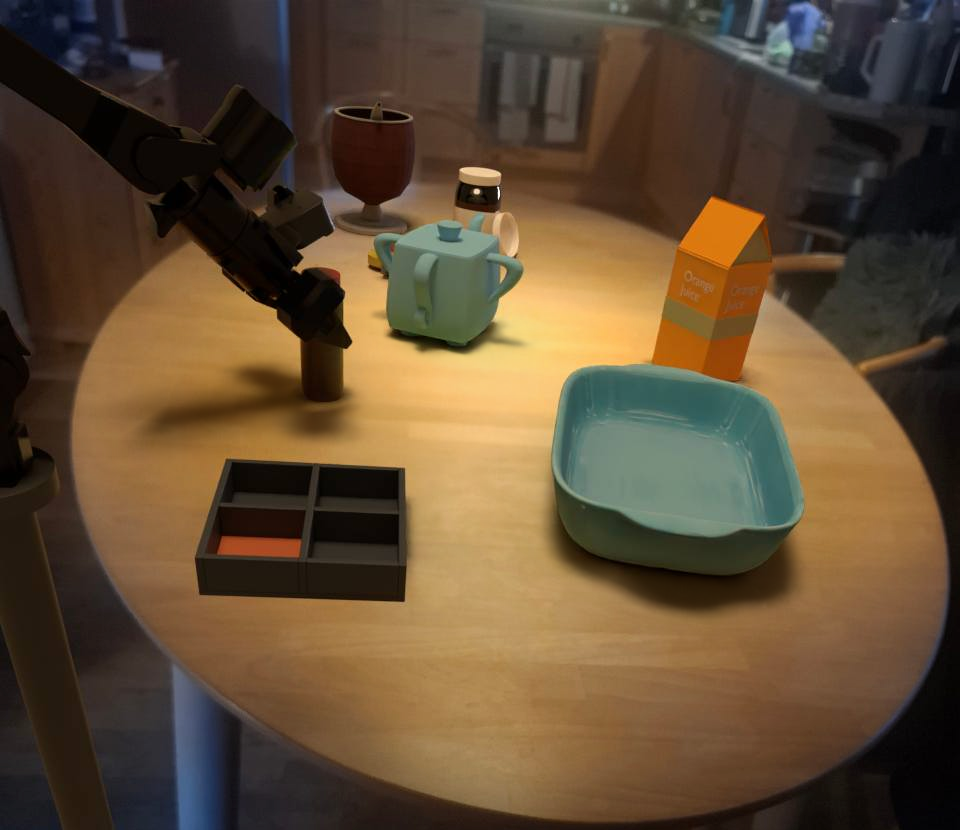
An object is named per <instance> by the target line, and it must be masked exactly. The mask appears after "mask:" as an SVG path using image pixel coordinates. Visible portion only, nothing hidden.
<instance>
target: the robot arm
mask: <svg viewBox="0 0 960 830" xmlns="http://www.w3.org/2000/svg"><path fill="white" fill-rule="evenodd" d="M0 83H1V84H2V85H3V86H5V87H6V88H8V89H9V90H11V91H13V92H14V93H15V94H17V95H19V96H20V97H21V98H23V99H24V100H26V101H28V102H30V103H31V104H32V105H34V106H36V107H37V108H39V109H40V110H42V111H43V112H45V113H46V114H48V115H49V116H51V118H54V119H55V120H57V121H58V122H60V124H62V125H63V126H64V127H65V128H66V129H67V130H68V131H70V132H71V133H72V135H74V136H75V137H76V138H77V140H79V141H80V142H81V143H83V144H84V145H85V146H86V147H87V148H88V149H89V150H90V151H91V152H93V154H95V155H96V156H97V157H98V158H99V159H100V160H101V161H103V163H105V164H106V165H107V166H108V167H109V168H110V169H111V170H112V171H114V172H115V173H116V174H117V175H119V176H120V177H122V178H123V179H124V180H125V181H126V182H127V183H129V184H131V185H132V186H133V187H134V188H135V189H137V190H138V191H140V192H142V193H144V194H146V195H150V196H151V195H152V196H157V197H155V198H144V199H143V200H142V204H143V206H144V210H145V227H146V228H147V229H148V230H150V231H151V232H152V233H153V234H154V235H155V236H157V237H158V238H159V239H165V238H166V237H167V235H168V234H169V233H170V232H171V230H172V229H173V228H174V226H175V227H176V228H178V229H179V230H180V231H181V232H182V233H183V234H184V235H185V236H186V237H188V238H189V239H190V240H191V241H192V242H193V243H194V244H195V245H196V246H197V247H198V248H200V249H201V250H202V251H203V253H205V254H206V256H207V257H209V259H211V260H212V261H213V262H214V263H215V264H216V265H218V266H219V267H220V268H221V273H222V275H223V276H224V277H225V278H226V279H227V280H228V281H230V282H231V283H232V284H233V285H234V286H235V287H236V288H237V289H239V290H240V291H241V292H242V293H245V295H247V296H248V297H249V298H251V299H252V300H253V301H254V302H257V303H258V304H261V305H264V306H266V307H268V308H271V309H274V310H276V320H278V321H279V322H280V323H281V324H283V326H284V327H285V328H287V329H288V330H289V331H290V332H291V333H292V334H293V335H294V336H296V337H297V338H298V339H299V340H300V339H301V340H302V341H303V342H304V343H305V342H307V341H310V340H315V341H319V342H322V343H326V344H329V345H333V346H336V347H339V348H343V350H348V349H349V348H350V347H351V345H352V344H353V339H352V337H351V336H350V334H349V332H348V331H347V329H346V327H345V325H344V322H343V323H342V322H341V320H340V318H339V316H338V315H337V313H336V311H335V309H336V308H337V307H338V306H339V304H340V303H341V302H342V301H343V302H344V300H345V297H346V290H345V289H344V288H342V287H341V285H340V286H339V285H338V284H337V283H336V281H335V280H334V279H332V278H331V277H329V276H328V275H327V274H325V273H324V272H322V271H321V270H319V269H318V268H316V269H306V268H304V269H305V270H304V272H303V273H302V274H301V272H298V271H297V270H296V269H294V268H297V267H298V266H299V265H300V263H301V262H302V261H304V258H305V257H304V256H303V254H302V253H301V252H300V250H301V251H302V250H303V249H305V248H307V247H309V246H310V245H312V244H314V243H315V242H316V241H319V240H320V239H322V238H323V237H326V238H327V237H329V236H331V235H332V234H333V233H334V232H335V230H336V227H335V225H334V222H333V219H332V218H331V215H330V213H329V210H328V208H327V205H326V203H325V202H324V199H323V197H322V196H321V195H319V194H317V193H315V192H314V191H312V190H310V189H307V188H304V189H301V188H300V187H297V188H295V189H294V190H295V192H293V191H292V190H291V188H289V187H288V186H287V185H285V184H283V183H282V182H280V181H277V182H275V183H274V184H272V185H270V186H269V187H267V188H266V205H267V206H265V207H264V209H265V212H264V213H262V214H261V215H258V214H257V213H256V212H255V211H254V210H252V209H250V208H248V207H247V206H246V205H244V203H242V201H241V200H240V199H239V198H238V197H237V196H236V195H235V194H234V193H232V191H231V190H230V189H229V188H228V187H227V186H226V185H225V183H223V182H222V181H221V180H220V179H219V178H218V177H217V176H216V175H215V173H216V172H219V173H220V175H222V176H223V178H224V179H226V181H228V183H230V184H231V185H232V186H233V187H234V188H236V189H237V190H238V191H239V192H241V193H243V194H244V193H245V192H246V191H247V190H248V189H250V190H251V191H252V192H253V193H256V192H258V193H260V192H262V190H263V189H264V188H265V186H266V185H267V184H268V182H270V180H271V179H272V177H273V176H274V175H275V174H276V172H277V171H278V170H279V169H280V167H281V166H282V165H283V163H284V162H285V161H286V160H287V158H288V157H289V156H290V154H291V153H292V152H293V151H294V149H295V148H296V147H297V146H298V144H299V142H298V140H297V137H296V136H295V134H294V133H293V132H292V130H290V128H289V127H288V126H287V125H286V123H285V122H284V121H283V120H282V119H281V118H280V117H277V116H275V115H274V114H273V113H272V112H271V111H270V110H269V108H267V107H265V106H264V104H262V103H261V102H260V101H259V100H257V99H256V98H255V97H254V96H253V95H252V94H251V93H250V91H248V88H246V87H243V86H242V85H239V84H234V85H233V86H232V88H231V89H230V90H229V91H228V93H227V94H226V96H225V98H224V100H223V102H222V104H221V106H220V107H219V108H218V110H217V111H216V112H215V114H214V115H213V116H212V118H210V120H209V122H208V123H207V124H206V125H205V127H204V128H203V129H202V130H201V132H200V133H199V132H197V131H196V130H194V129H193V128H190V127H187V125H183V126H178V125H172V124H167V123H165V122H163V121H162V120H160V119H159V118H157V117H156V116H154V115H152V114H150V113H148V112H147V111H145V110H144V109H142V108H140V107H138V106H135V105H134V104H132V103H129V102H128V101H125V100H124V99H122V98H120V97H118V96H116V95H114V94H111V93H109V92H108V91H105V90H103V89H100V88H99V87H97V86H94V85H92V84H91V83H89V82H86V81H84V80H82V79H80V78H78V77H77V76H76V75H74V74H72V73H71V72H70V71H68V70H67V69H65V68H64V67H63V66H62V65H60V64H58V63H56V62H55V61H54V60H53V59H52V58H49V57H48V56H47V55H46V54H45V53H43V52H42V51H40V50H38V49H37V48H36V47H34V46H33V45H31V44H30V43H29V42H27V41H26V40H24V39H23V38H21V37H20V36H19V35H17V34H16V33H14V32H13V31H11V30H10V29H8V28H7V27H6V26H5V25H3V24H2V23H0ZM158 195H159V196H158ZM31 355H32V352H31V351H30V350H29V348H28V347H27V345H26V344H25V342H24V341H23V339H22V338H21V336H20V335H19V333H18V331H17V330H16V328H14V326H13V325H12V322H11V320H10V317H9V314H8V312H7V311H6V309H5V307H4V306H3V304H2V303H1V302H0V488H14V487H16V486H17V484H18V483H19V481H20V480H21V478H22V477H23V476H24V474H25V473H26V471H27V470H28V468H29V467H30V465H31V464H32V462H33V461H34V459H35V457H36V456H35V453H34V452H32V449H31V446H32V445H31V442H30V437H29V433H28V429H27V423H25V421H24V420H20V419H19V414H18V411H17V406H16V400H17V398H18V397H20V396H21V394H23V392H24V391H25V390H26V388H27V385H28V383H29V380H30V378H31V373H30V368H29V365H28V363H27V360H26V358H25V357H30V356H31Z"/></svg>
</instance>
